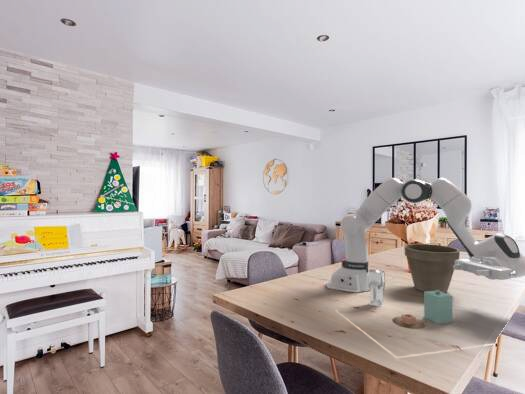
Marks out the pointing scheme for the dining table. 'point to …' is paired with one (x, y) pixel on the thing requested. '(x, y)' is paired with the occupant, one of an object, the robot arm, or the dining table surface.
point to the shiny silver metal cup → (376, 286)
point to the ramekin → (408, 319)
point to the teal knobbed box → (438, 306)
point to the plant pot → (431, 265)
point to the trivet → (418, 324)
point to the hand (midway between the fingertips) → (465, 270)
